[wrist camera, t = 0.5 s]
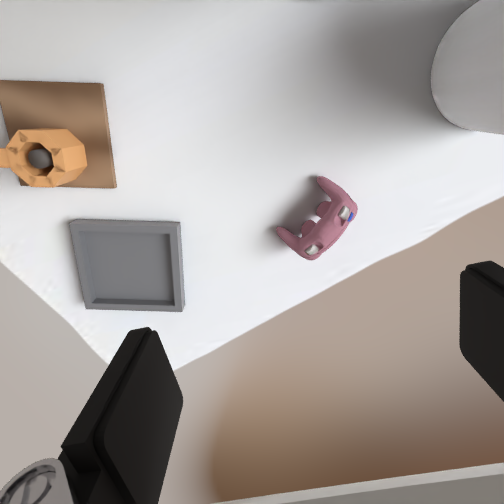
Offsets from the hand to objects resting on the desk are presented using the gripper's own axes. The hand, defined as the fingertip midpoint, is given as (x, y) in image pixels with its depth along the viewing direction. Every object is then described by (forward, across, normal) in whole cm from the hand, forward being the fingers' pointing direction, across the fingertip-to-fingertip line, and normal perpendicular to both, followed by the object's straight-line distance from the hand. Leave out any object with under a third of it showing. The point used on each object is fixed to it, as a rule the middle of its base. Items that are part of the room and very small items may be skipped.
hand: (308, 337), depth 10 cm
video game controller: (+34, -5, +7) cm, 35 cm away
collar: (+33, +24, -8) cm, 42 cm away
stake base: (+34, +24, -10) cm, 43 cm away
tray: (+34, +21, +8) cm, 41 cm away
